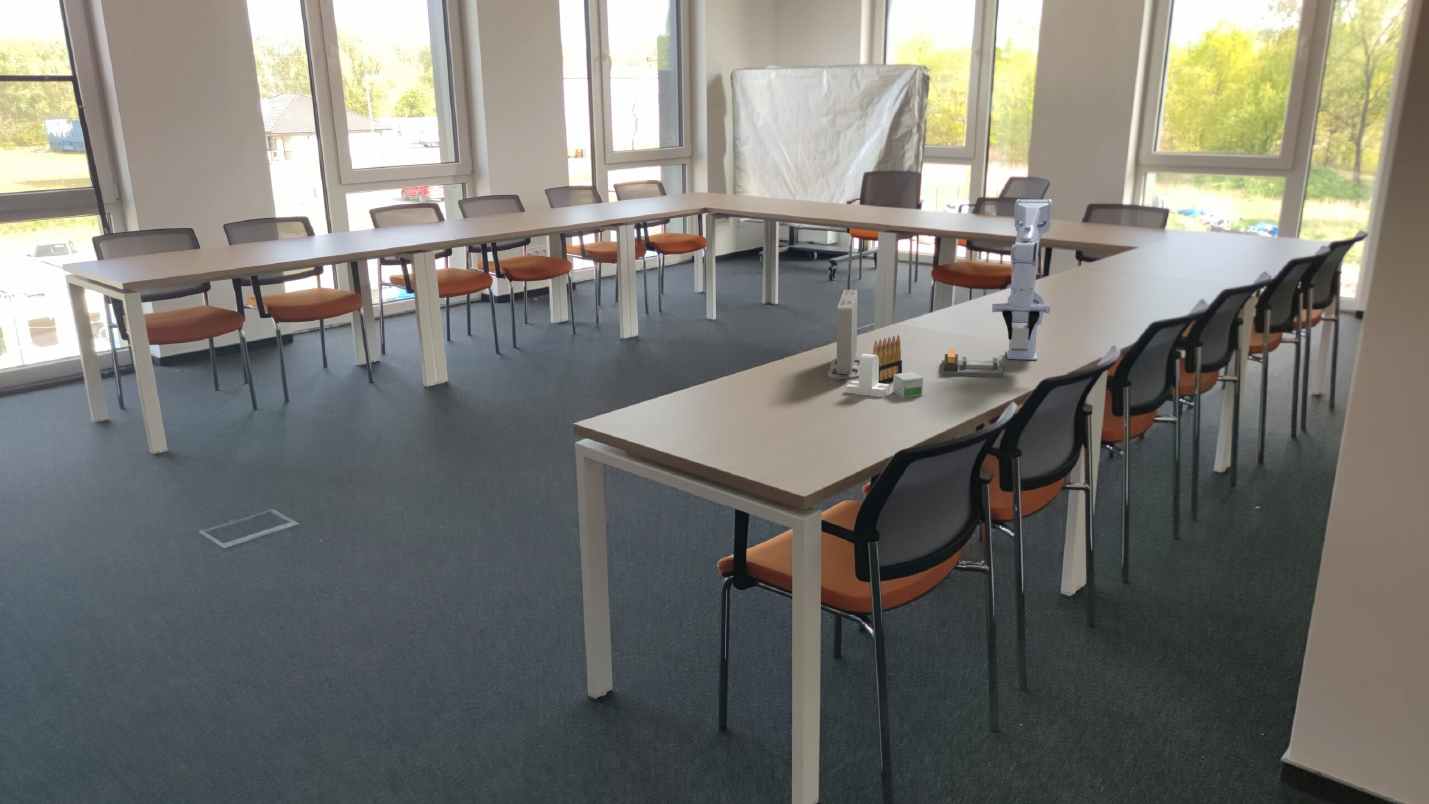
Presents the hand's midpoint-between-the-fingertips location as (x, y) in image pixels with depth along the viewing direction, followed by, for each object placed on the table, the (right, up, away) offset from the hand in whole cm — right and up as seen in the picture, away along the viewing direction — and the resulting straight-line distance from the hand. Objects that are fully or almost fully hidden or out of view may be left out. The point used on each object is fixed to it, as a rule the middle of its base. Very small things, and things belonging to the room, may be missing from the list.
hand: (1018, 338), depth 255 cm
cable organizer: (-42, -15, -11) cm, 46 cm away
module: (0, -2, +1) cm, 2 cm away
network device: (-45, -8, +10) cm, 46 cm away
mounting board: (-11, -8, +5) cm, 15 cm away
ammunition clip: (-36, -12, -2) cm, 38 cm away
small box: (-32, -15, -13) cm, 38 cm away
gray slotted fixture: (-11, -7, +5) cm, 14 cm away
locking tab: (-17, -5, +6) cm, 18 cm away
